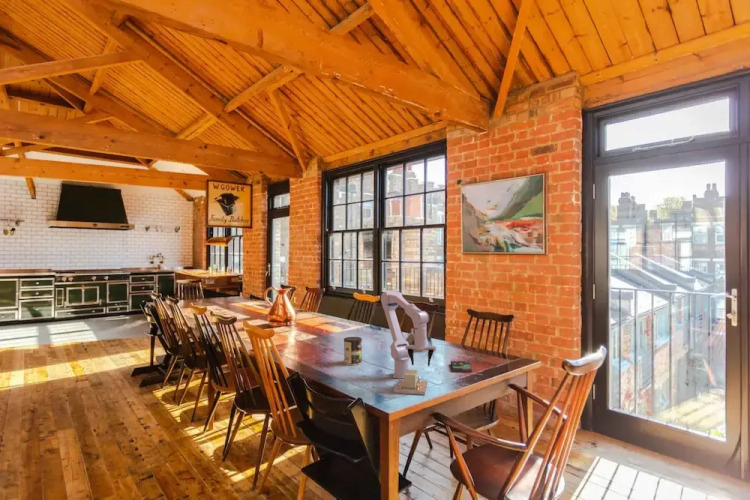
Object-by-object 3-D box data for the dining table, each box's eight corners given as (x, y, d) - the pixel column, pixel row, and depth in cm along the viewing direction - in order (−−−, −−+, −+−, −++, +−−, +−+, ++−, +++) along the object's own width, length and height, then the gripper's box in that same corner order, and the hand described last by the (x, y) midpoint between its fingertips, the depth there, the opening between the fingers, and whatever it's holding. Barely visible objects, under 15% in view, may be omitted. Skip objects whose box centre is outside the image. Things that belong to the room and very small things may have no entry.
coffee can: (363, 360, 244) (363, 336, 244) (359, 365, 234) (359, 340, 234) (346, 360, 246) (346, 336, 246) (341, 364, 236) (341, 340, 236)
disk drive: (450, 365, 236) (452, 373, 221) (450, 360, 236) (452, 367, 221) (468, 365, 235) (472, 373, 220) (468, 360, 235) (472, 368, 220)
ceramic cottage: (406, 345, 282) (406, 323, 280) (430, 348, 277) (430, 325, 275) (400, 352, 267) (400, 329, 266) (425, 355, 262) (426, 331, 261)
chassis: (398, 382, 204) (398, 374, 204) (427, 384, 201) (427, 375, 201) (393, 393, 190) (393, 384, 190) (424, 395, 187) (424, 386, 187)
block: (406, 382, 200) (406, 369, 200) (417, 382, 199) (417, 370, 199) (404, 387, 192) (404, 374, 192) (415, 388, 191) (415, 375, 191)
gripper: (404, 338, 198) (404, 366, 199) (435, 339, 196) (435, 368, 196) (406, 335, 205) (406, 362, 205) (436, 336, 202) (436, 364, 202)
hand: (420, 365), depth 201 cm, fingers open, 7 cm apart
